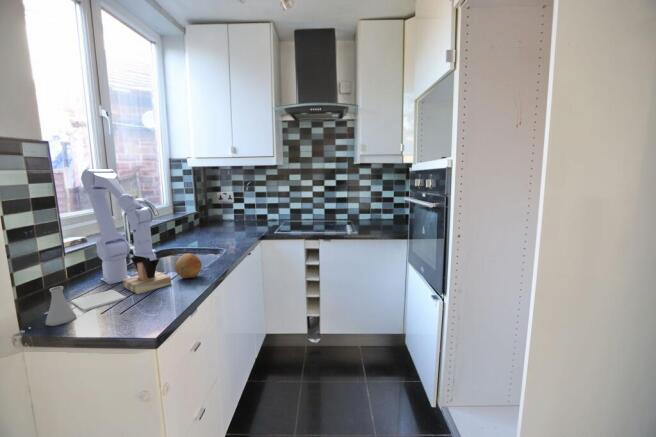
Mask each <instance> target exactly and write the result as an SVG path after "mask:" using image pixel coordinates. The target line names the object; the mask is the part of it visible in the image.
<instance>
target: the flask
mask: <svg viewBox="0 0 656 437" xmlns="http://www.w3.org/2000/svg"><path fill="white" fill-rule="evenodd" d="M63 291H64V286H62V285H59V286H58V285H57V286H55V287H52V288H49V292H50V293H51V294H50V295H51V300H50V305H49V309H48V313H47V316H46V320H45V326H48V327H49V326H51V327H55V326H59V325H63V324H66V323H70V322H72V321H73V320H75V319H77V314H76V313H75V311H74V310H73V308H72V307H71V305H70V304H69V302H68V301H67V299H66V297H65V295H64V292H63Z"/></svg>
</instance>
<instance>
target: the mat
mask: <svg viewBox="0 0 656 437" xmlns="http://www.w3.org/2000/svg"><path fill="white" fill-rule="evenodd" d="M126 299H127V296H125V295H124V294H121V293H120V292H118V291H116V290H114V289H108V290H105V291H100V292H98V293H93V294H90V295H86V296H82V297H79V298H75V299H72V300H71V301H70V302H71V303H72V304H74V306H76V307H77V308H79V309H80V310H81V311H83V312H86V311H89V310H93V309H96V308H99V307H102V306H106V305H109V304H112V303H116V302H119V301H123V300H126Z"/></svg>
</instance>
